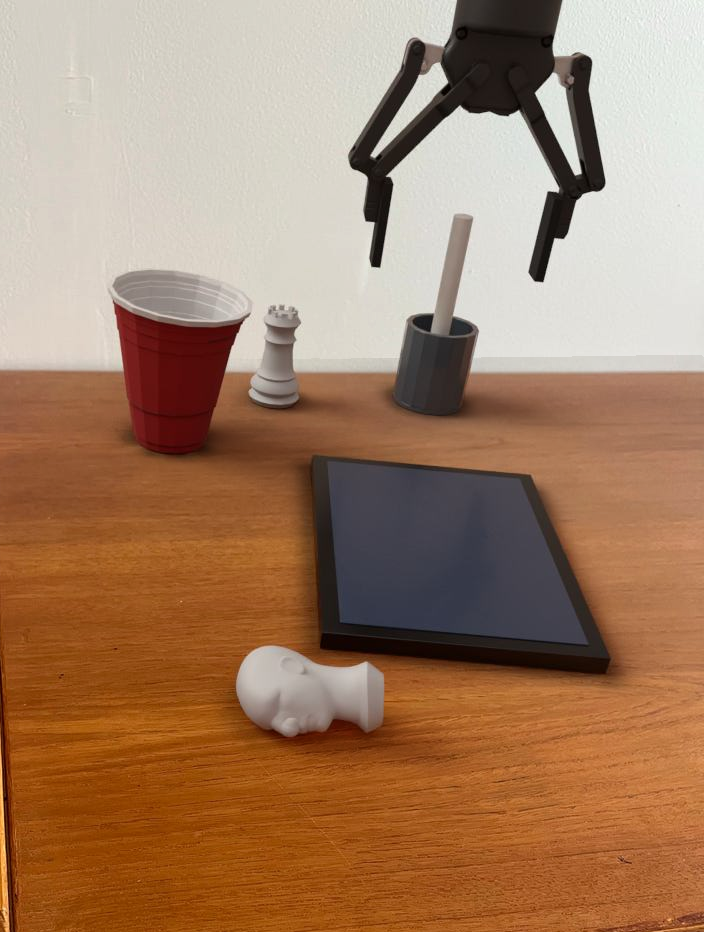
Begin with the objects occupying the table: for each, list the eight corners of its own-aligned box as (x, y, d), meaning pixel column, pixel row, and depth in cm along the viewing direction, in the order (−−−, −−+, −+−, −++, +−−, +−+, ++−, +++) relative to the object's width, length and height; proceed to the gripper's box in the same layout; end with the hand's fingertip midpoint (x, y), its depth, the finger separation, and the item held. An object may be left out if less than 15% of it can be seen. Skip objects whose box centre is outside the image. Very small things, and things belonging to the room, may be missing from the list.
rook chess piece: (300, 393, 93) (311, 304, 88) (296, 412, 89) (307, 321, 84) (251, 387, 93) (259, 297, 88) (244, 406, 89) (253, 314, 85)
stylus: (434, 394, 94) (471, 214, 85) (436, 400, 93) (474, 219, 84) (417, 392, 94) (452, 212, 85) (419, 399, 93) (455, 217, 84)
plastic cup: (220, 480, 77) (233, 322, 70) (84, 453, 79) (84, 297, 72) (254, 425, 86) (269, 279, 79) (131, 402, 88) (135, 258, 81)
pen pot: (456, 391, 96) (472, 316, 92) (466, 418, 91) (483, 340, 87) (390, 385, 96) (403, 310, 92) (396, 411, 91) (410, 333, 87)
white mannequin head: (222, 741, 55) (250, 667, 58) (369, 778, 53) (390, 700, 56) (219, 695, 52) (249, 619, 55) (376, 733, 50) (398, 652, 53)
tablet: (527, 488, 80) (531, 473, 80) (605, 674, 61) (612, 657, 60) (310, 468, 80) (312, 453, 80) (319, 648, 61) (322, 631, 60)
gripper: (345, -44, 71) (308, 269, 83) (704, -12, 71) (614, 297, 84) (340, -48, 77) (306, 245, 90) (671, -18, 77) (591, 270, 90)
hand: (455, 270), depth 87 cm, fingers open, 13 cm apart
